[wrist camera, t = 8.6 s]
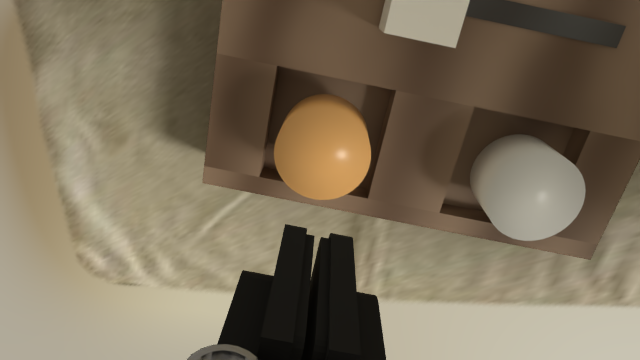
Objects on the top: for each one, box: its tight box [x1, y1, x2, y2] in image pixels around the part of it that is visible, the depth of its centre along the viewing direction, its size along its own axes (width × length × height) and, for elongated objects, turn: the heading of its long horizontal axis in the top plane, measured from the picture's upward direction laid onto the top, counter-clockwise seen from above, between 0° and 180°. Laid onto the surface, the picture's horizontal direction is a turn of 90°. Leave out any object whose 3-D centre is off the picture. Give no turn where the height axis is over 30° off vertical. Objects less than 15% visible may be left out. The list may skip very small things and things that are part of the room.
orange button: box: [274, 94, 371, 200], centre depth 22 cm, size 4×4×3 cm
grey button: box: [470, 134, 585, 241], centre depth 23 cm, size 4×4×3 cm
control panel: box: [203, 0, 640, 260], centre depth 24 cm, size 22×16×4 cm
